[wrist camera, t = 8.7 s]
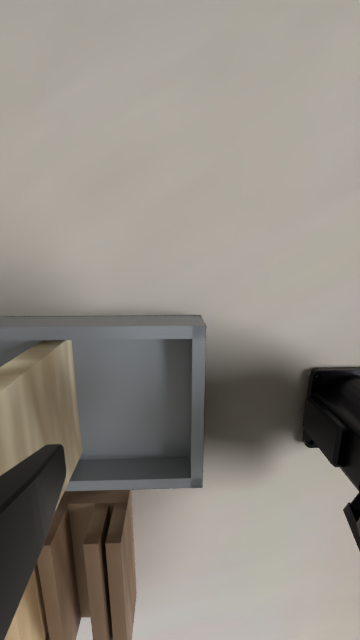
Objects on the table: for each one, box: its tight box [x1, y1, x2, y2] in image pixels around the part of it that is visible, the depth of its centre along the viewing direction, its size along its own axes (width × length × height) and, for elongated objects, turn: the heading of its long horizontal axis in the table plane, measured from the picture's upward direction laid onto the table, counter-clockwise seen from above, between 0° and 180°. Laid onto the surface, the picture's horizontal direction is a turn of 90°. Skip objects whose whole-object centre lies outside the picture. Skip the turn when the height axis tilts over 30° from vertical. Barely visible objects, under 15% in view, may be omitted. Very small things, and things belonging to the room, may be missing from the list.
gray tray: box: [0, 315, 206, 491], centre depth 18 cm, size 19×12×3 cm, turn 90°
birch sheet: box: [0, 340, 82, 511], centre depth 14 cm, size 2×9×10 cm, turn 0°
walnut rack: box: [37, 490, 136, 640], centre depth 21 cm, size 12×12×4 cm
